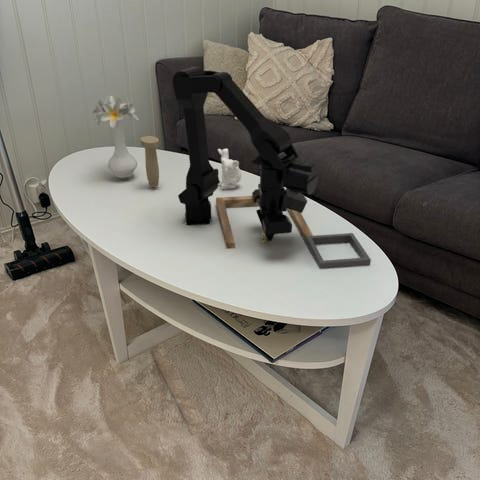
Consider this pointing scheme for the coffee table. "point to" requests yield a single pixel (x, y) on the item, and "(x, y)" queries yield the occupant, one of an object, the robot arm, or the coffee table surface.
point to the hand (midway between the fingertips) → (269, 240)
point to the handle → (151, 159)
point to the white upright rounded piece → (229, 171)
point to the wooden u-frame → (248, 202)
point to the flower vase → (117, 133)
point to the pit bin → (334, 239)
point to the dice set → (263, 238)
